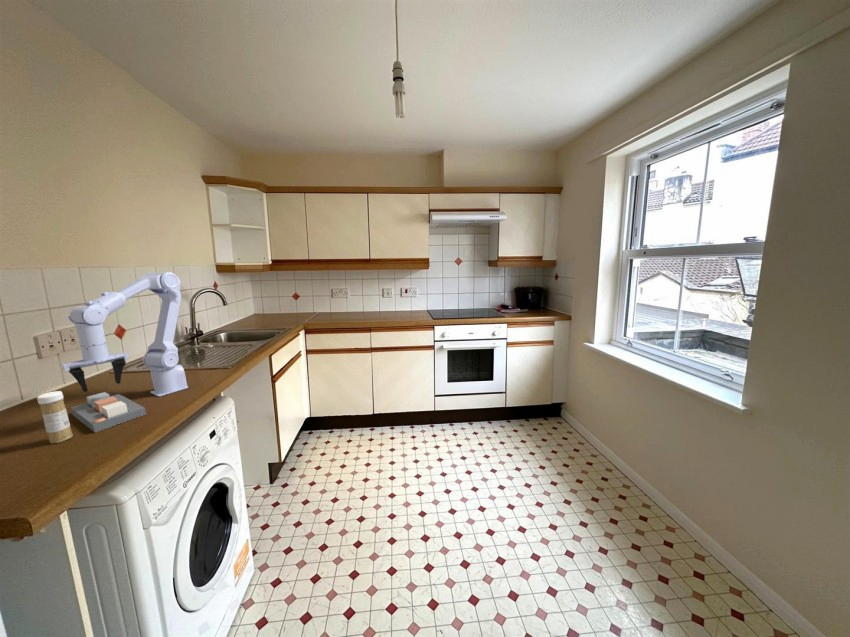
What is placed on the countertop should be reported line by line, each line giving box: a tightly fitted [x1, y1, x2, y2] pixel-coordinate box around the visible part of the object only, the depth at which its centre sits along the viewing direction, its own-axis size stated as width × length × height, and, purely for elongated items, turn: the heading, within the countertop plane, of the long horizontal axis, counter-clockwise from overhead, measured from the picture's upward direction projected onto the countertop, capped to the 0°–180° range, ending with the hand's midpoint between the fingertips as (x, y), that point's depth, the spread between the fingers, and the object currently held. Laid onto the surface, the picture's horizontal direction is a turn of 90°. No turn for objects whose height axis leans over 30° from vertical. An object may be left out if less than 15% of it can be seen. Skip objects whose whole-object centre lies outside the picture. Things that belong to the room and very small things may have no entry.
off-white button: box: [102, 401, 128, 418], centre depth 101 cm, size 4×4×3 cm
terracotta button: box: [94, 395, 118, 413], centre depth 105 cm, size 4×4×3 cm
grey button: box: [86, 391, 111, 408], centre depth 109 cm, size 4×4×3 cm
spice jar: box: [36, 390, 74, 444], centre depth 91 cm, size 5×5×13 cm
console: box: [70, 393, 147, 433], centre depth 106 cm, size 12×23×3 cm, turn 58°
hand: (102, 386), depth 104 cm, fingers open, 7 cm apart
